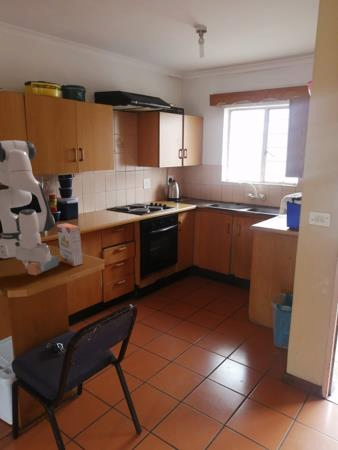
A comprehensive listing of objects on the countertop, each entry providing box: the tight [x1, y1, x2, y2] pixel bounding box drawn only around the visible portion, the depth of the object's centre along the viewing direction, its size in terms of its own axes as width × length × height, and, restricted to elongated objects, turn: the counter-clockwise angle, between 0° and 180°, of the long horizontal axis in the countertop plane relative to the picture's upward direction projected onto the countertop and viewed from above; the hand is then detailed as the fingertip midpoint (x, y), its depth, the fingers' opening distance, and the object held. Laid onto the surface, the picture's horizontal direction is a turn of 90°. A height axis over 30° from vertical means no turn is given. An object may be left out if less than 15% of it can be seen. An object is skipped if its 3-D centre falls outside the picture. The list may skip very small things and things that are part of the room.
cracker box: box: [56, 222, 84, 267], centre depth 186 cm, size 14×6×21 cm, turn 45°
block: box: [27, 261, 43, 276], centre depth 174 cm, size 5×4×5 cm
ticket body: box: [38, 254, 60, 273], centre depth 181 cm, size 5×12×5 cm, turn 156°
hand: (34, 269), depth 174 cm, fingers open, 8 cm apart
